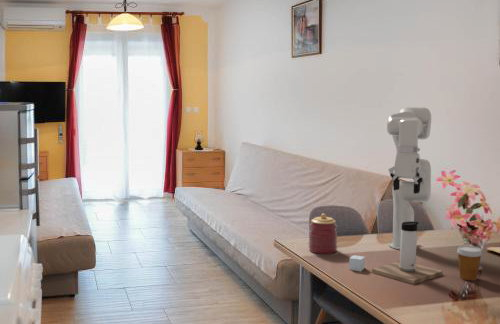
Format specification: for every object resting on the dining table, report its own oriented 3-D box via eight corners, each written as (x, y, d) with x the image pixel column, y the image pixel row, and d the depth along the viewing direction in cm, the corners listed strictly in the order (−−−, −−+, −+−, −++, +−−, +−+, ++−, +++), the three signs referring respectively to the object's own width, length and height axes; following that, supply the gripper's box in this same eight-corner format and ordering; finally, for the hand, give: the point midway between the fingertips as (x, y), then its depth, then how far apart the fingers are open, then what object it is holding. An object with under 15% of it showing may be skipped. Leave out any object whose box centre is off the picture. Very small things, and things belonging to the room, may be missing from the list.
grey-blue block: (353, 266, 251) (353, 255, 251) (364, 268, 249) (365, 256, 248) (349, 269, 247) (349, 257, 247) (360, 271, 245) (360, 259, 244)
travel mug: (416, 272, 238) (419, 223, 236) (399, 271, 239) (402, 222, 237) (415, 268, 244) (417, 220, 242) (399, 267, 245) (401, 219, 243)
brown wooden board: (401, 263, 256) (401, 260, 256) (442, 274, 241) (442, 270, 240) (371, 272, 243) (372, 268, 243) (413, 284, 228) (413, 280, 228)
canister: (324, 256, 267) (324, 217, 265) (303, 250, 277) (303, 213, 275) (342, 251, 276) (343, 213, 274) (321, 245, 286) (322, 209, 284)
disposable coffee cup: (478, 283, 230) (479, 253, 228) (453, 279, 235) (454, 249, 233) (483, 277, 238) (484, 247, 236) (458, 273, 243) (460, 244, 241)
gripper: (431, 151, 235) (430, 193, 238) (395, 147, 249) (394, 187, 251) (420, 152, 231) (419, 195, 233) (384, 148, 244) (383, 189, 246)
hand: (406, 191), depth 242 cm, fingers open, 9 cm apart
